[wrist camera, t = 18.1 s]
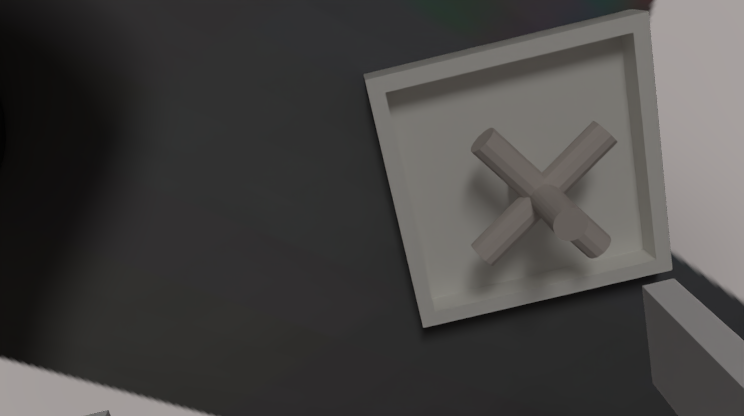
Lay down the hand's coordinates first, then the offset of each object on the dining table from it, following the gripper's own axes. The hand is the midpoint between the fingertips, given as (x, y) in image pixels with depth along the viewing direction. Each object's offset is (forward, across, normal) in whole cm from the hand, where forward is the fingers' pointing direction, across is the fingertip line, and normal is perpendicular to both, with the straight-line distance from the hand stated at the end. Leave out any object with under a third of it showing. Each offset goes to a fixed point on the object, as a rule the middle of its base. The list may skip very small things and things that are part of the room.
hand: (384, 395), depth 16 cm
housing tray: (+29, +10, -5) cm, 31 cm away
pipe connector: (+28, +10, -5) cm, 30 cm away
